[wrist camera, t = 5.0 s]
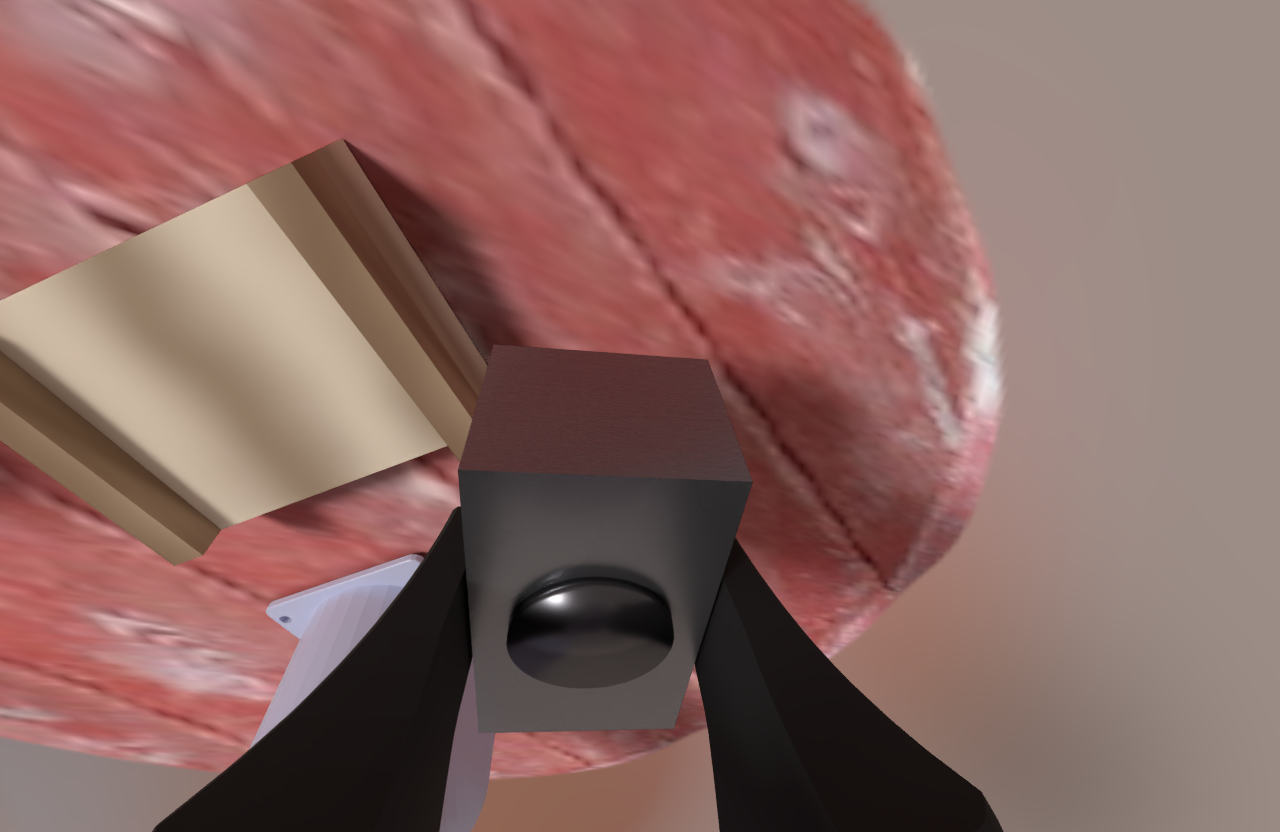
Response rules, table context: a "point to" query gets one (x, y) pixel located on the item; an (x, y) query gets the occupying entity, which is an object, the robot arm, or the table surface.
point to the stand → (237, 359)
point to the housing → (594, 535)
